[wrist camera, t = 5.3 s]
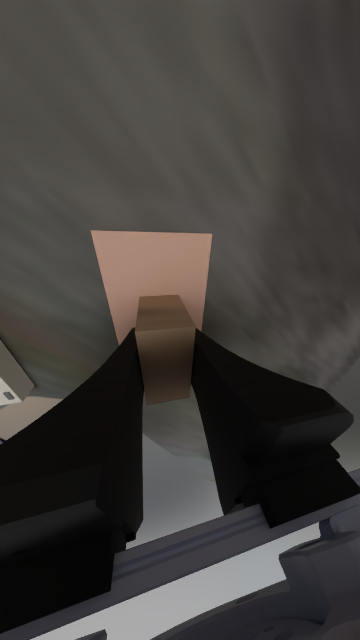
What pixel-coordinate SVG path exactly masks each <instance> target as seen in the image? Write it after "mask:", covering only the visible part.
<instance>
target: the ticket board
mask: <svg viewBox="0 0 360 640" xmlns="http://www.w3.org/2000/svg"><path fill="white" fill-rule="evenodd" d="M34 386H35V385H34V384H33V383H32V381H31V380H30V379H29V377H28V376H27V375H26V373H25V372H24V371H23V369H22V368H21V367H20V365H19V364H18V363H17V361H16V360H15V359H14V357H13V356H12V355H11V353H10V352H9V351H8V349H7V348H6V347H5V345H4V344H3V342H2V341H1V340H0V405H6V404H12V403H19V402H23V401H24V399H25V398H26V397H27V395H28V394H29V393H30V391H31V390H32V389H33V387H34Z"/></svg>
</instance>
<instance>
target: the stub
mask: <svg viewBox="0 0 360 640" xmlns="http://www.w3.org/2000/svg"><path fill="white" fill-rule="evenodd" d="M91 234H92V238H93V242H94V246H95V250H96V254H97V258H98V262H99V266H100V270H101V274H102V279H103V283H104V287H105V291H106V295H107V299H108V303H109V307H110V311H111V315H112V319H113V323H114V327H115V331H116V336H117V340H118V344H119V345H120V344H121V343H122V341H123V340H124V339H125V337H126V336H127V334H128V333H129V332H130V330H131V329H132V328H135V336H136V342H137V348H138V354H139V360H140V366H141V372H142V378H143V384H144V390H145V396H146V402H147V405H150V404H155V403H161V402H166V401H172V400H177V399H183V398H188V397H190V388H191V376H192V364H193V353H194V341H195V329H196V328H197V329H199V330H200V331H202V322H203V313H204V303H205V294H206V285H207V276H208V267H209V258H210V249H211V240H212V234H199V233H163V232H126V231H91Z"/></svg>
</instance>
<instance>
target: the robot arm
mask: <svg viewBox="0 0 360 640" xmlns="http://www.w3.org/2000/svg"><path fill="white" fill-rule="evenodd" d="M191 384H192V387H193V389H194V392H195V396H196V399H197V403H198V407H199V411H200V414H201V419H202V423H203V427H204V431H205V435H206V439H207V444H208V448H209V453H210V457H211V462H212V466H213V471H214V476H215V480H216V485H217V490H218V495H219V500H220V503H221V507H222V511H223V514H224V516H222V517H219V518H216V519H213V520H211V521H207V522H205V523H202V524H199V525H196V526H193V527H190V528H187V529H184V530H181V531H179V532H176V533H173V534H170V535H167V536H164V537H161V538H158V539H156V540H153V541H150V542H147V543H144V544H141V545H138V546H135V547H133V548H130V549H127V550H126V543H127V542H130V541H133V540H135V539H136V533H137V531H138V529H139V527H140V525H141V523H142V521H143V475H142V473H143V472H142V407H143V393H144V384H143V378H142V372H141V366H140V360H139V354H138V348H137V342H136V336H135V328H132V329H131V330H130V332H129V333H128V334H127V336H126V337H125V339H124V340H123V341H122V343H121V344H120V345H119V347H118V348H117V349H116V350H115V352H114V353H113V354H112V355H111V356H110V357H109V358H108V360H107V361H106V362H105V363H104V364H103V365H102V366H101V367H100V368H99V369H98V370H97V371H96V372H95V373H94V374H93V375H92V376H91V377H90V378H89V379H87V380H86V381H85V382H84V383H83V384H81V385H80V386H79V387H78V388H77V389H76V390H74V391H73V392H72V393H71V394H70V395H68V396H67V397H66V398H65V399H63V400H62V401H61V402H60V403H58V404H57V405H56V406H54V407H53V408H52V409H51V410H49V411H48V412H46V413H45V414H44V415H42V416H41V417H39V418H38V419H37V420H35V421H34V422H32V423H31V424H30V425H28V426H27V427H26V428H24V429H22V430H21V431H20V432H18V433H17V434H15V435H14V436H12V437H11V438H9V439H8V440H6V441H5V442H2V441H0V640H30V639H32V638H35V637H37V636H40V635H42V634H45V633H47V632H50V631H52V630H54V629H57V628H59V627H62V626H64V625H66V624H69V623H72V622H74V621H76V620H79V619H81V618H84V617H86V616H89V615H91V614H94V613H96V612H99V611H101V610H104V609H106V608H108V607H111V606H113V605H116V604H118V603H121V602H123V601H126V600H128V599H131V598H133V597H135V596H138V595H140V594H143V593H145V592H148V591H150V590H153V589H155V588H158V587H160V586H162V585H165V584H167V583H170V582H172V581H175V580H177V579H180V578H182V577H185V576H187V575H189V574H192V573H194V572H197V571H199V570H202V569H204V568H207V567H209V566H212V565H214V564H217V563H219V562H221V561H224V560H226V559H229V558H231V557H234V556H236V555H239V554H241V553H244V552H246V551H248V550H251V549H253V548H255V547H258V546H261V545H263V544H265V543H268V542H271V541H273V540H275V539H278V538H280V537H283V536H285V535H288V534H290V533H293V532H295V531H297V530H300V529H302V528H305V527H307V526H310V525H312V524H314V523H317V522H319V529H320V534H321V536H320V538H318V539H314V540H311V541H308V542H304V543H302V544H299V545H297V546H294V547H292V548H290V549H289V550H287V551H285V552H283V553H281V554H279V561H280V564H281V566H282V568H283V571H284V573H285V576H286V578H287V579H286V580H283V581H281V582H278V583H276V584H273V585H270V586H268V587H265V588H263V589H261V590H258V591H256V592H253V593H251V594H248V595H245V596H243V597H240V598H238V599H235V600H233V601H230V602H228V603H225V604H223V605H220V606H218V607H216V608H214V609H211V610H209V611H207V612H205V613H202V614H200V615H198V616H196V617H194V618H191V619H189V620H187V621H185V622H183V623H181V624H179V625H177V626H175V627H173V628H171V629H169V630H167V631H166V632H164V633H162V634H160V635H158V636H156V637H154V638H152V639H151V640H360V469H357V470H354V471H351V472H348V473H347V472H346V470H345V469H344V468H343V467H342V466H341V464H340V463H339V462H338V461H337V460H336V459H338V458H340V455H339V453H338V452H337V451H336V450H335V449H334V448H333V447H332V446H331V444H330V443H332V442H333V441H334V440H335V439H336V438H337V437H339V436H340V435H341V434H342V433H344V432H345V431H346V430H347V429H348V428H349V427H350V426H351V425H352V423H353V420H354V419H353V415H352V414H351V413H350V412H349V411H348V410H347V409H346V408H344V407H343V406H342V405H341V404H340V403H339V402H338V401H336V400H335V399H334V398H333V397H332V396H331V395H330V394H328V393H327V392H326V391H325V390H323V389H320V388H317V387H314V386H311V385H308V384H305V383H302V382H299V381H296V380H293V379H290V378H287V377H285V376H282V375H280V374H277V373H274V372H272V371H269V370H267V369H265V368H262V367H260V366H258V365H256V364H254V363H251V362H249V361H247V360H245V359H243V358H241V357H239V356H237V355H236V354H234V353H232V352H230V351H228V350H227V349H225V348H224V347H222V346H221V345H219V344H217V343H216V342H215V341H213V340H212V339H210V338H209V337H208V336H206V335H205V334H204V333H202V332H201V331H200V330H199V329H197V328H196V329H195V341H194V353H193V364H192V376H191ZM106 639H107V633H106V631H105V629H104V630H101V631H98V632H96V633H93V634H90V635H87V636H84V637H81V638H78V639H76V640H106Z"/></svg>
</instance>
